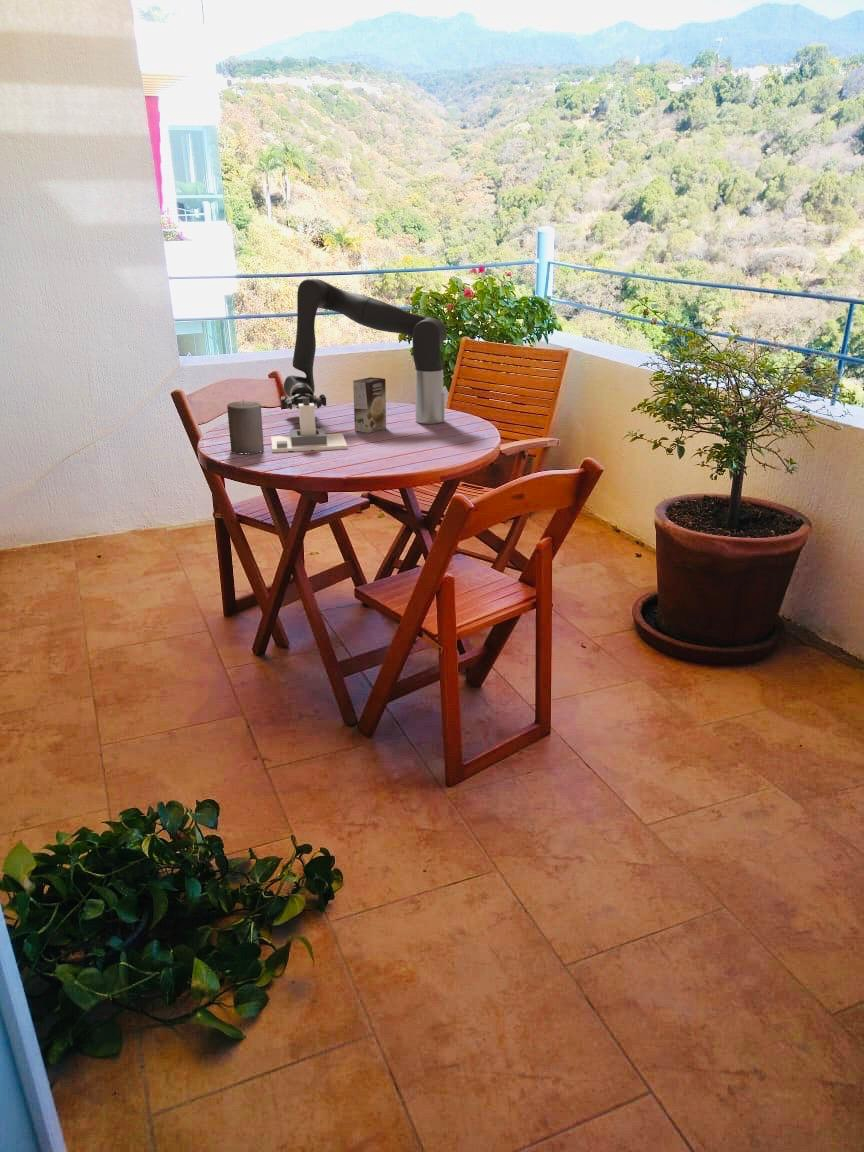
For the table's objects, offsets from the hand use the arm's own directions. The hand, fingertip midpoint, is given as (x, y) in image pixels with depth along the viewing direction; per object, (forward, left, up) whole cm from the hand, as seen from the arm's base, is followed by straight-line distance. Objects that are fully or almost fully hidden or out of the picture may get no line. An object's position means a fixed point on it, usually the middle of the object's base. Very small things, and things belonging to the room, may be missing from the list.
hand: (304, 405), depth 259 cm
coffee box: (-21, -4, -10) cm, 24 cm away
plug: (0, +12, -8) cm, 14 cm away
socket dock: (0, +12, -9) cm, 15 cm away
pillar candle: (+18, +16, -10) cm, 26 cm away
